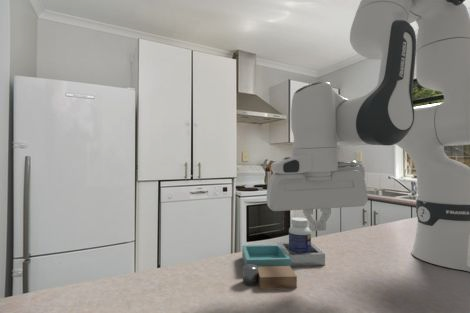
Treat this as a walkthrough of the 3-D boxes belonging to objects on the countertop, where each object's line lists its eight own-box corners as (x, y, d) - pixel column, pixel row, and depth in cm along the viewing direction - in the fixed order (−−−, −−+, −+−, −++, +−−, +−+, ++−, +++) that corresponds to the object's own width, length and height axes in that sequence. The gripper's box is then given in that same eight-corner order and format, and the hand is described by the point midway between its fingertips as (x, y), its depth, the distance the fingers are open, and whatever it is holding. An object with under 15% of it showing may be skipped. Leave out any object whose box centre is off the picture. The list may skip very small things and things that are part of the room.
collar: (310, 251, 68) (310, 242, 68) (325, 264, 59) (325, 254, 59) (277, 252, 68) (277, 242, 68) (287, 265, 59) (287, 254, 59)
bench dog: (256, 278, 52) (256, 263, 52) (259, 285, 49) (259, 269, 49) (242, 279, 52) (242, 264, 52) (243, 286, 49) (243, 270, 49)
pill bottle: (312, 263, 60) (311, 221, 61) (289, 261, 61) (288, 220, 62) (310, 255, 66) (309, 217, 66) (288, 253, 67) (288, 216, 67)
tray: (280, 256, 65) (280, 244, 65) (291, 273, 55) (291, 258, 55) (242, 257, 64) (242, 245, 64) (246, 274, 54) (246, 260, 54)
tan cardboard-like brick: (289, 278, 53) (289, 265, 54) (296, 289, 48) (296, 276, 49) (256, 278, 53) (256, 266, 53) (260, 290, 48) (260, 277, 48)
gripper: (355, 160, 56) (358, 223, 56) (263, 164, 55) (266, 228, 55) (372, 160, 50) (375, 231, 50) (269, 165, 49) (272, 237, 49)
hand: (317, 230), depth 52 cm, fingers closed
